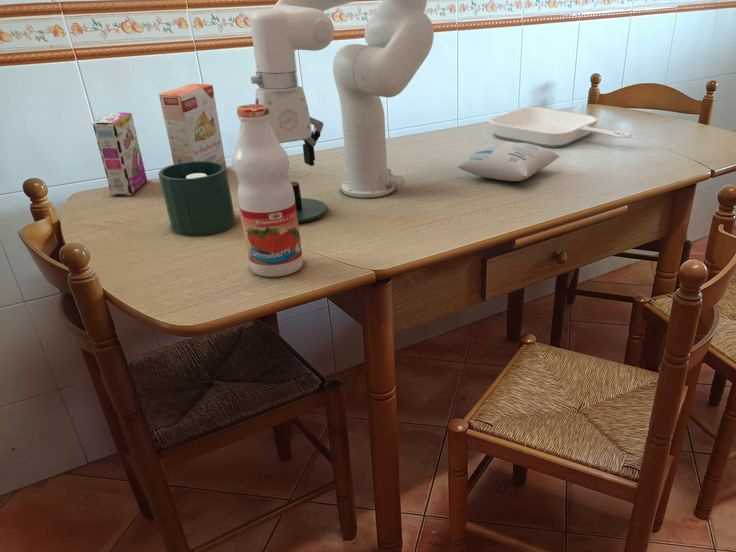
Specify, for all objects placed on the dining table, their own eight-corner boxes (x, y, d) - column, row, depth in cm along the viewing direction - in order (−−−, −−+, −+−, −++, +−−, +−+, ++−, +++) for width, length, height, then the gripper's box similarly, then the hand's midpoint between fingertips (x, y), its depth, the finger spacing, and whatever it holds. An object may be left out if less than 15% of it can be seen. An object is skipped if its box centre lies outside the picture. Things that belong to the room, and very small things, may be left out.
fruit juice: (297, 253, 126) (276, 99, 111) (308, 272, 118) (287, 110, 104) (246, 261, 122) (217, 103, 108) (255, 282, 115) (225, 115, 100)
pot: (245, 216, 142) (236, 163, 136) (215, 238, 131) (204, 181, 125) (193, 212, 144) (181, 159, 138) (159, 233, 134) (145, 177, 127)
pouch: (495, 131, 174) (456, 145, 159) (561, 143, 167) (528, 159, 152) (493, 161, 179) (455, 178, 163) (558, 174, 171) (524, 193, 156)
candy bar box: (133, 196, 152) (114, 123, 143) (111, 196, 152) (90, 123, 143) (149, 181, 162) (132, 111, 153) (128, 181, 161) (109, 111, 152)
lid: (336, 205, 148) (333, 176, 144) (312, 228, 137) (308, 196, 133) (280, 201, 150) (275, 172, 147) (251, 222, 139) (246, 191, 135)
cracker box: (199, 186, 158) (180, 94, 147) (177, 184, 159) (156, 93, 148) (229, 169, 170) (213, 83, 159) (207, 168, 171) (190, 82, 160)
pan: (527, 120, 218) (528, 105, 216) (648, 140, 197) (650, 125, 195) (481, 136, 200) (481, 121, 197) (609, 161, 179) (611, 144, 176)
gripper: (242, 87, 122) (256, 179, 131) (326, 79, 131) (333, 165, 140) (227, 81, 127) (241, 170, 136) (309, 74, 136) (317, 158, 145)
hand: (288, 168), depth 138 cm, fingers open, 9 cm apart
